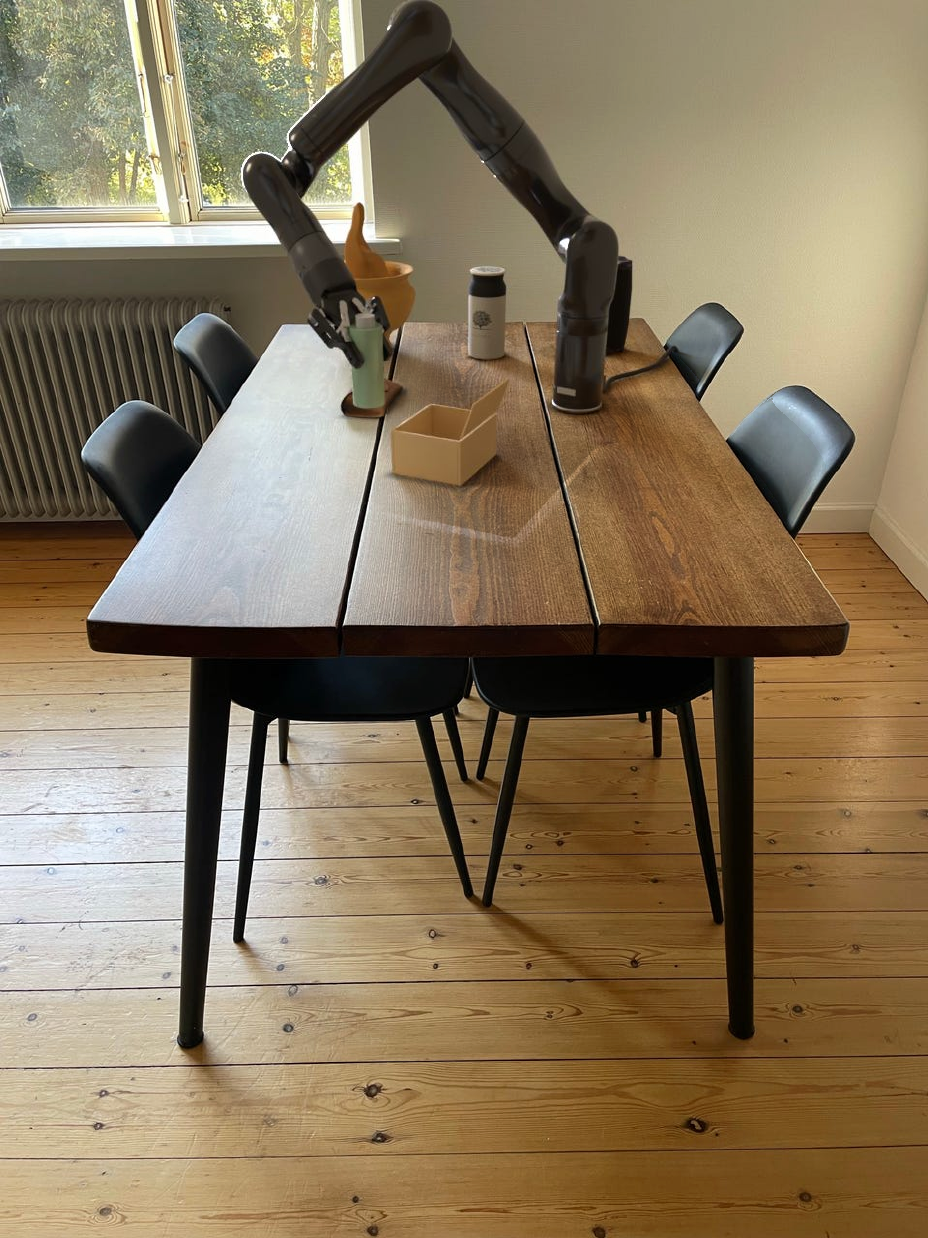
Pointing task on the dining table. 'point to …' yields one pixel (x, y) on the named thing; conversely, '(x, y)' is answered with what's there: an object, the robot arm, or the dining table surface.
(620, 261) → the portable speaker
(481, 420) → the flap
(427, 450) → the carton
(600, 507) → the dining table surface
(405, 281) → the mortar and pestle
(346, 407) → the leather pouch
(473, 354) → the travel mug
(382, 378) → the water bottle
